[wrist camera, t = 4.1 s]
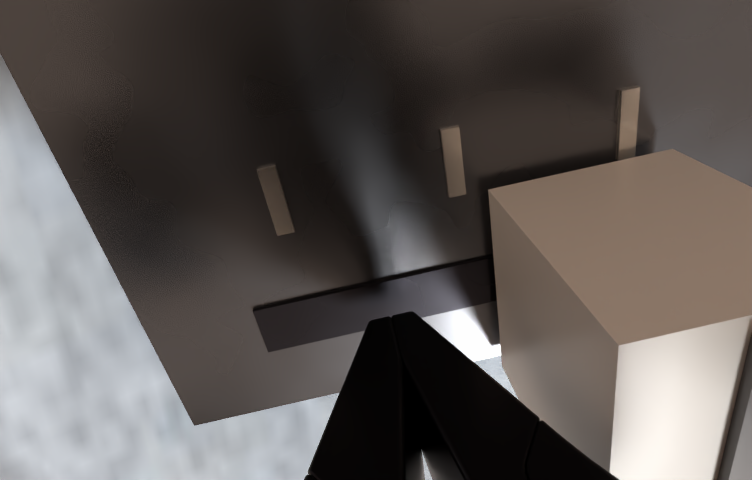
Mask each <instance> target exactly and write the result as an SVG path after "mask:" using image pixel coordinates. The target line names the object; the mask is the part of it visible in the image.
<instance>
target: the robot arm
mask: <svg viewBox="0 0 752 480" xmlns="http://www.w3.org/2000/svg"><path fill="white" fill-rule="evenodd" d="M421 449H422V450H421ZM422 452H423V455H424V458H425V461H426V463H427V466H428V469H429V471H430V474H431V477H432V479H433V480H619V479H618V478H616V477H615V476H614V475H612V474H611V473H609V472H608V471H607V470H605V469H604V468H602V467H601V466H600V465H598V464H597V463H595V462H594V461H592V460H591V459H590V458H589V457H587V456H586V455H585V454H583V453H582V452H581V451H580V450H578V449H577V448H576V447H575V446H573V445H572V444H571V443H570V442H568V441H567V440H566V439H565V438H563V437H562V436H561V435H560V434H558V433H557V432H556V431H555V430H554V429H553V428H551V427H550V426H549V425H548V424H547V423H546V422H544V421H543V420H541V421H540V418H539V417H538V416H537V415H536V414H535V413H533V412H532V411H531V410H530V409H529V408H527V407H526V406H525V405H524V404H523V403H522V402H520V401H519V400H518V399H517V398H516V397H514V396H513V395H512V394H511V393H510V392H509V391H507V390H506V389H505V388H504V387H503V386H501V385H500V384H499V383H498V382H497V381H495V380H494V379H493V378H492V377H491V376H490V375H488V374H487V373H486V372H485V371H484V370H482V369H481V368H480V367H479V366H478V365H476V364H475V363H474V362H473V361H472V360H471V359H469V358H468V357H467V356H466V355H465V354H463V353H462V352H461V351H460V350H459V349H458V348H456V347H455V346H454V345H453V344H452V343H450V342H449V341H448V340H447V339H446V338H444V337H443V336H442V335H441V334H440V333H439V332H437V331H436V330H435V329H434V328H433V327H431V326H430V325H429V324H428V323H427V322H425V321H424V320H423V319H422V318H421V317H420V316H418V315H417V314H416V313H415V312H412V311H409V312H405V313H401V314H396V315H393V316H392V317H390V316H387V317H383V318H379V319H374V320H371V321H369V322H368V325H367V327H366V329H365V332H364V334H363V337H362V339H361V342H360V344H359V347H358V349H357V351H356V354H355V356H354V359H353V361H352V364H351V366H350V369H349V371H348V374H347V376H346V379H345V381H344V383H343V386H342V388H341V391H340V393H339V396H338V398H337V401H336V403H335V406H334V408H333V411H332V413H331V415H330V418H329V420H328V423H327V425H326V428H325V430H324V433H323V435H322V438H321V440H320V443H319V445H318V448H317V450H316V452H315V455H314V457H313V460H312V462H311V465H310V467H309V470H308V474H309V475H306V477H305V479H304V480H425V476H424V467H423V457H422Z"/></svg>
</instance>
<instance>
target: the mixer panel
mask: <svg viewBox="0 0 752 480" xmlns="http://www.w3.org/2000/svg"><path fill="white" fill-rule="evenodd" d="M0 53H1V55H2V57H3V59H4V61H5V63H6V64H7V66H8V68H9V70H10V72H11V74H12V76H13V78H14V80H15V82H16V84H17V86H18V88H19V89H20V91H21V93H22V95H23V97H24V99H25V101H26V103H27V105H28V107H29V109H30V111H31V113H32V114H33V116H34V118H35V120H36V122H37V124H38V126H39V128H40V130H41V132H42V134H43V136H44V138H45V139H46V141H47V143H48V145H49V147H50V149H51V151H52V153H53V155H54V157H55V159H56V161H57V163H58V164H59V166H60V168H61V170H62V172H63V174H64V176H65V178H66V180H67V182H68V184H69V186H70V188H71V189H72V191H73V193H74V195H75V197H76V199H77V201H78V203H79V205H80V207H81V209H82V211H83V213H84V214H85V216H86V218H87V220H88V222H89V224H90V226H91V228H92V230H93V232H94V234H95V236H96V238H97V239H98V241H99V243H100V245H101V247H102V249H103V251H104V253H105V255H106V257H107V259H108V261H109V263H110V264H111V266H112V268H113V270H114V272H115V274H116V276H117V278H118V280H119V282H120V284H121V286H122V288H123V289H124V291H125V293H126V295H127V297H128V299H129V301H130V303H131V305H132V307H133V309H134V311H135V313H136V314H137V316H138V318H139V320H140V322H141V324H142V326H143V328H144V330H145V332H146V334H147V336H148V338H149V340H150V341H151V343H152V345H153V347H154V349H155V351H156V353H157V355H158V357H159V359H160V361H161V363H162V365H163V366H164V368H165V370H166V372H167V374H168V376H169V378H170V380H171V382H172V384H173V386H174V388H175V390H176V391H177V393H178V395H179V397H180V399H181V401H182V403H183V405H184V407H185V409H186V411H187V413H188V415H189V416H190V418H191V420H192V422H193V424H194V425H199V424H203V423H208V422H212V421H216V420H221V419H225V418H229V417H234V416H238V415H243V414H247V413H251V412H256V411H260V410H264V409H269V408H273V407H277V406H282V405H286V404H291V403H295V402H299V401H304V400H308V399H312V398H317V397H321V396H325V395H330V394H334V393H339V392H340V391H341V388H342V386H343V383H344V381H345V379H346V376H347V374H348V371H349V369H350V366H351V364H352V361H353V359H354V356H355V354H356V351H357V349H358V347H359V344H360V342H361V339H362V337H363V334H364V332H365V329H366V327H367V325H368V322H369V321H371V320H374V319H379V318H383V317H387V316H390V317H392V316H393V315H396V314H401V313H405V312H409V311H412V312H415V313H416V314H417V315H418V316H420V317H421V318H422V319H423V320H424V321H425V322H427V323H428V324H429V325H430V326H431V327H433V328H434V329H435V330H436V331H437V332H439V333H440V334H441V335H442V336H443V337H444V338H446V339H447V340H448V341H449V342H450V343H452V344H453V345H454V346H455V347H456V348H458V349H459V350H460V351H461V352H462V353H463V354H465V355H466V356H467V357H468V358H469V359H471V360H472V361H473V362H474V361H478V360H483V359H487V358H491V357H496V356H500V355H501V346H500V334H499V321H498V308H497V296H496V283H495V270H494V258H493V245H492V232H491V220H490V207H489V194H488V189H493V188H497V187H502V186H506V185H511V184H516V183H520V182H525V181H529V180H534V179H538V178H543V177H547V176H552V175H556V174H561V173H565V172H570V171H574V170H579V169H583V168H588V167H592V166H597V165H601V164H606V163H611V162H615V161H620V160H624V159H629V158H633V157H638V156H642V155H647V154H651V153H656V152H660V151H665V150H669V149H674V150H676V151H678V152H680V153H682V154H684V155H686V156H689V157H691V158H693V159H695V160H697V161H699V162H701V163H703V164H705V165H707V166H709V167H711V168H713V169H715V170H717V171H719V172H721V173H723V174H726V175H728V176H730V177H732V178H734V179H736V180H738V181H740V182H742V183H744V184H746V185H748V186H750V187H752V0H0Z"/></svg>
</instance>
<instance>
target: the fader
mask: <svg viewBox="0 0 752 480" xmlns="http://www.w3.org/2000/svg"><path fill="white" fill-rule="evenodd" d="M488 194H489V207H490V220H491V232H492V245H493V258H494V270H495V283H496V296H497V308H498V321H499V334H500V346H501V359H502V367H503V369H504V371H505V373H506V375H507V377H508V379H509V381H510V383H511V385H512V387H513V389H514V391H515V393H516V395H517V397H518V399H519V401H520V402H522V403H523V404H524V405H525V406H526V407H527V408H529V409H530V410H531V411H532V412H533V413H535V414H536V415H537V416H538V417H539V418H540V421H541V420H543V421H544V422H546V423H547V424H548V425H549V426H550V427H551V428H553V429H554V430H555V431H556V432H557V433H558V434H560V435H561V436H562V437H563V438H565V439H566V440H567V441H568V442H570V443H571V444H572V445H573V446H575V447H576V448H577V449H578V450H580V451H581V452H582V453H583V454H585V455H586V456H587V457H589V458H590V459H591V460H592V461H594V462H595V463H597V464H598V465H600V466H601V467H602V468H604V469H605V470H607V471H608V472H609V473H611V474H612V475H614V476H615V477H616V478H618V479H619V480H752V187H750V186H748V185H746V184H744V183H742V182H740V181H738V180H736V179H734V178H732V177H730V176H728V175H726V174H723V173H721V172H719V171H717V170H715V169H713V168H711V167H709V166H707V165H705V164H703V163H701V162H699V161H697V160H695V159H693V158H691V157H689V156H686V155H684V154H682V153H680V152H678V151H676V150H674V149H669V150H665V151H660V152H656V153H651V154H647V155H642V156H638V157H633V158H629V159H624V160H620V161H615V162H611V163H606V164H601V165H597V166H592V167H588V168H583V169H579V170H574V171H570V172H565V173H561V174H556V175H552V176H547V177H543V178H538V179H534V180H529V181H525V182H520V183H516V184H511V185H506V186H502V187H497V188H493V189H488Z"/></svg>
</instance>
